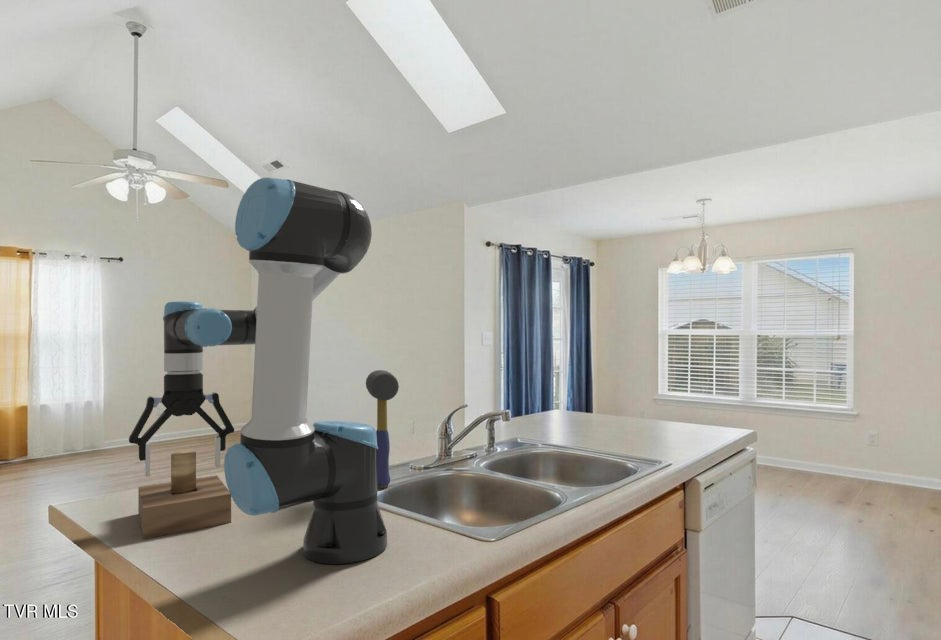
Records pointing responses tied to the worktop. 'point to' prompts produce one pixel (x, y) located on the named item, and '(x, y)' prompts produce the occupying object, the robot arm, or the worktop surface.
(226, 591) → the worktop surface
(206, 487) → the socket block
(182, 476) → the peg
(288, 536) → the worktop surface
